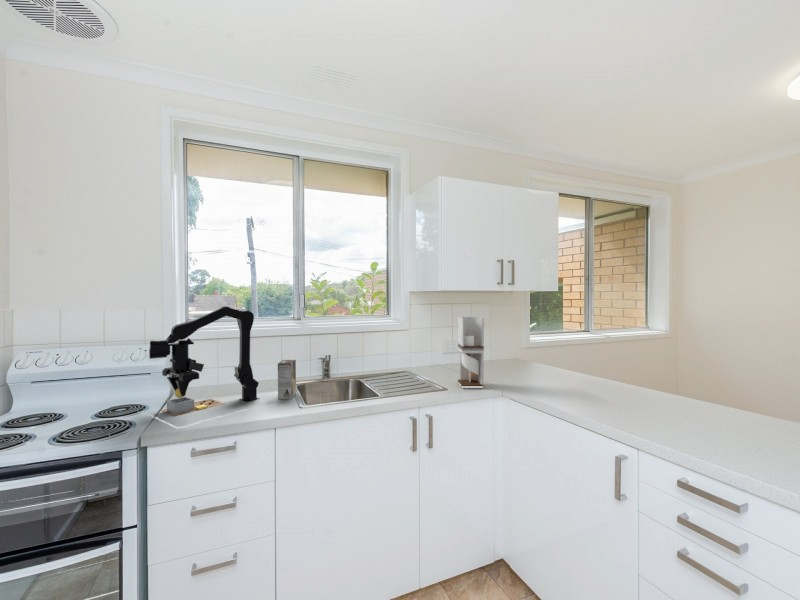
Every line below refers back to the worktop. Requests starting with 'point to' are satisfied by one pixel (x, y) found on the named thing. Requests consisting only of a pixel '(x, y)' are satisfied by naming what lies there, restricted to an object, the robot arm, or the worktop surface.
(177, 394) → the ball
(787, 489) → the worktop surface
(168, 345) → the robot arm
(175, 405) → the grey open box
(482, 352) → the display case
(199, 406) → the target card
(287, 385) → the coffee box
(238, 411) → the worktop surface
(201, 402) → the rack board
